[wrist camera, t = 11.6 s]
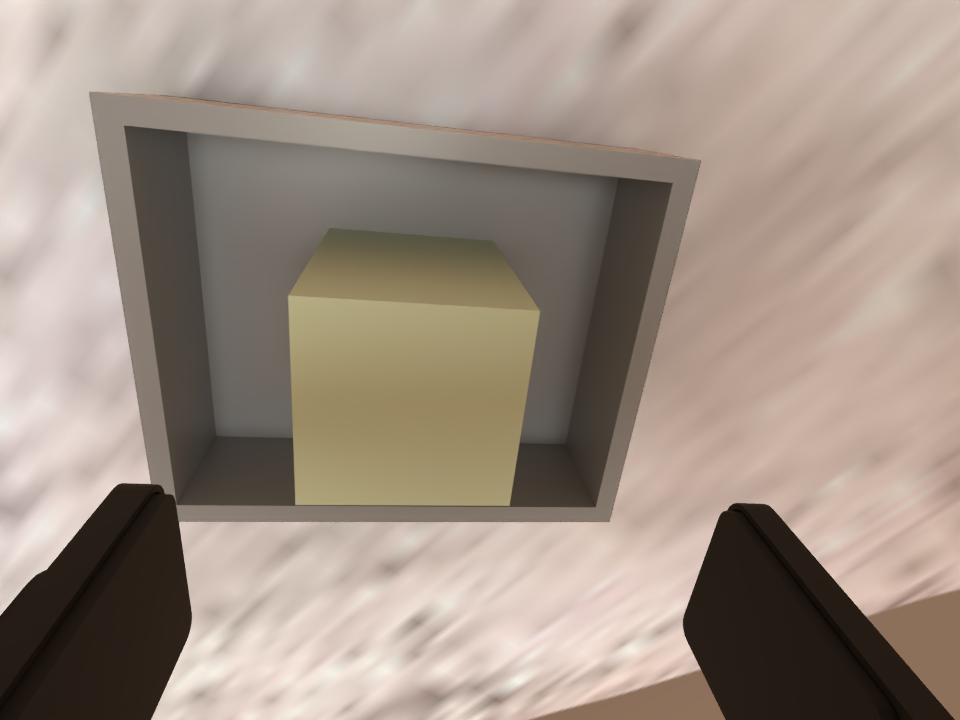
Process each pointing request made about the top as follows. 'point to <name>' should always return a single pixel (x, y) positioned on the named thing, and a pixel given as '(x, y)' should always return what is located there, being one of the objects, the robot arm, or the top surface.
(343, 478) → the pale yellow block
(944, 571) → the top surface
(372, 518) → the tub
